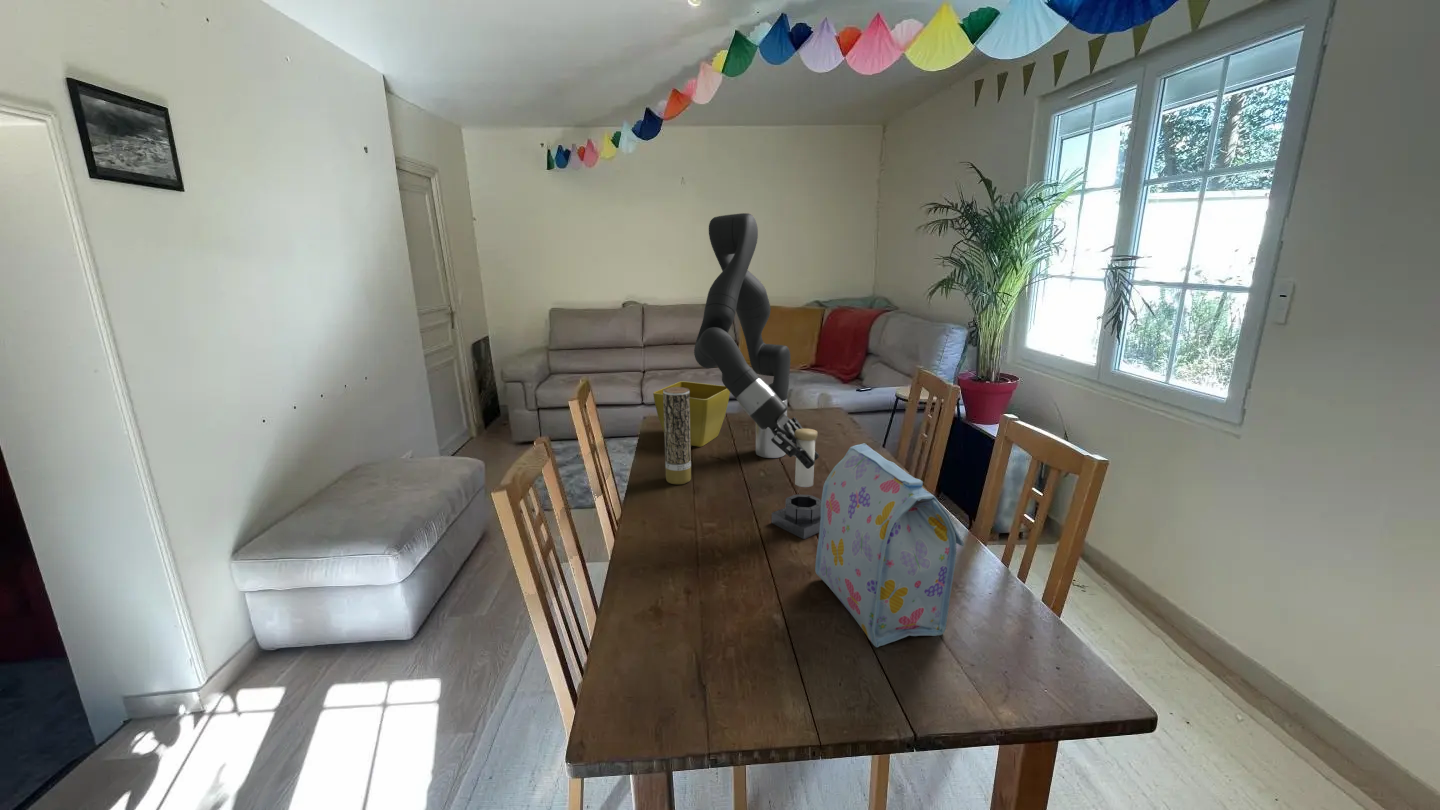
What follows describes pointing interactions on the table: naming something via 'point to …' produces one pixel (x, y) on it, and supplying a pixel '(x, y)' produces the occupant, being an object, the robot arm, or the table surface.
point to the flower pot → (700, 410)
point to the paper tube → (677, 434)
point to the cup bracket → (799, 515)
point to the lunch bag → (886, 548)
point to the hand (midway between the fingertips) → (813, 462)
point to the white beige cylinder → (808, 444)
